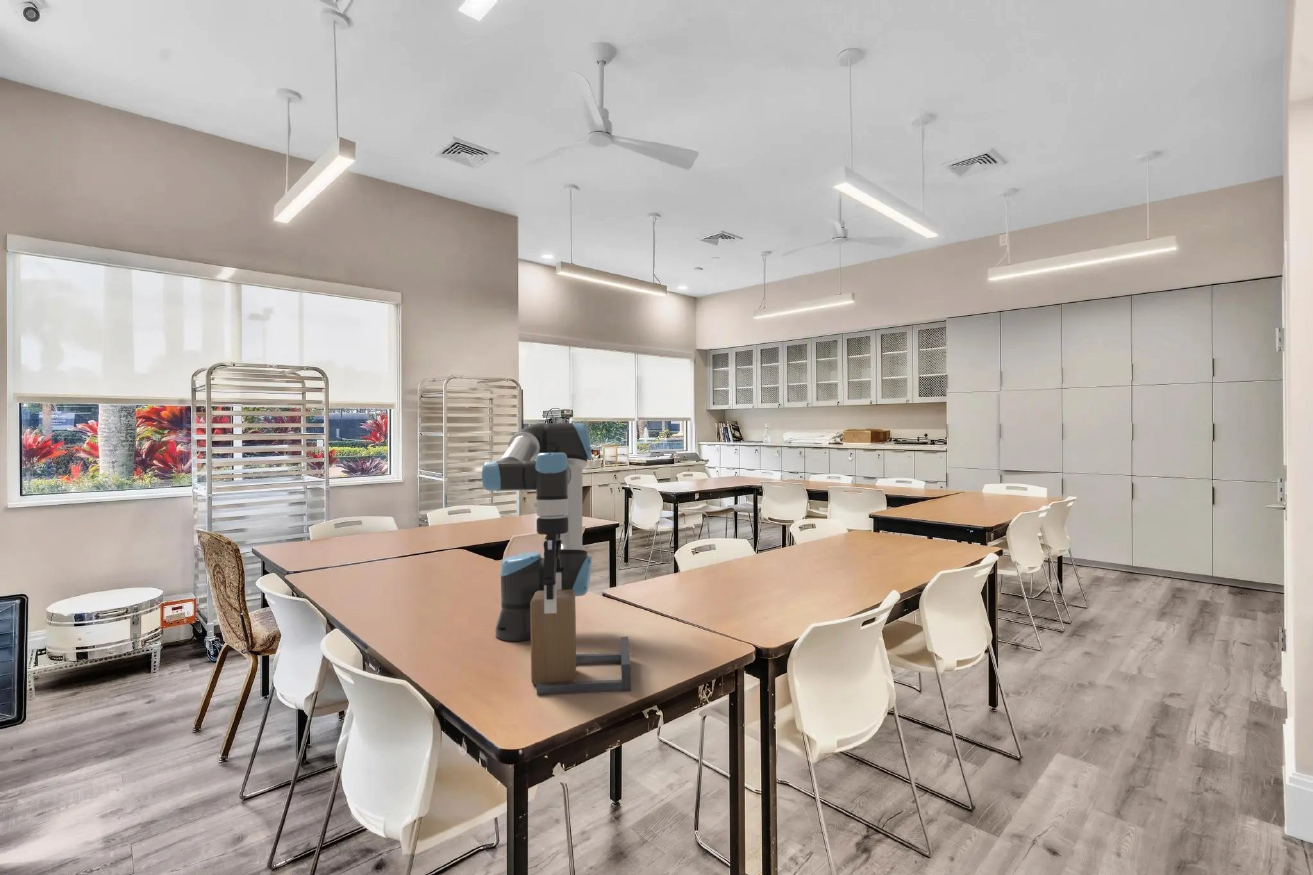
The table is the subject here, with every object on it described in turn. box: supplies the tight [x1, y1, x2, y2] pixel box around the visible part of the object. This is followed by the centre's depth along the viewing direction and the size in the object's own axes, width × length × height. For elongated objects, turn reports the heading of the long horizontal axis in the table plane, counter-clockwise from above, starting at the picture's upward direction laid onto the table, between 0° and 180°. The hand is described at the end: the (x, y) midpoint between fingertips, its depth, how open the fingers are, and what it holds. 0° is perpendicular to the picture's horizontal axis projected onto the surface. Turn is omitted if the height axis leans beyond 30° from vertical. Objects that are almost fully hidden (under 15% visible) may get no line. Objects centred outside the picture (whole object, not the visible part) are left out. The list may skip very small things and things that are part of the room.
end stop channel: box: [536, 636, 632, 696], centre depth 146 cm, size 21×20×6 cm
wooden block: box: [530, 590, 577, 686], centre depth 145 cm, size 10×10×20 cm
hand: (553, 605), depth 145 cm, fingers open, 13 cm apart
